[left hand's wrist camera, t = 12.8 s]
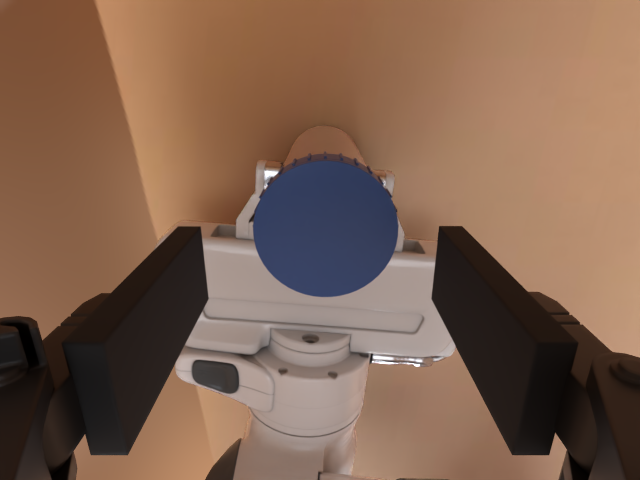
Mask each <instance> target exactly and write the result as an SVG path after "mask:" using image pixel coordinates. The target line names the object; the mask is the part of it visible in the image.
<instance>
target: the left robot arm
mask: <svg viewBox="0 0 640 480" xmlns="http://www.w3.org/2000/svg"><path fill="white" fill-rule="evenodd" d="M208 299H209V297H208V288H207V279H206V269H205V260H204V251H203V242H202V233H201V226H178V227H177V228H176V229H175V230H174V231H173V232H172V233H171V234H170V235H169V236H168V237H167V238H166V239H165V240H164V241H163V242H162V243H161V244H160V245H159V246H158V247H157V248H156V249H155V250H154V251H153V252H152V253H151V254H150V255H149V256H148V257H147V258H146V259H145V260H144V261H143V262H142V263H141V264H140V265H139V266H138V267H137V268H136V269H135V270H134V271H133V272H132V273H131V274H130V275H129V276H128V277H127V278H126V279H125V280H124V281H123V282H122V283H121V284H120V285H119V286H118V287H117V288H116V289H115V290H114V291H113V292H112V293H101V294H99V295H97V296H96V297H94V298H92V299H90V300H88V301H86V302H84V303H83V304H82V305H81V306H79V307H78V308H77V309H76V310H75V311H74V312H73V313H72V314H71V317H68V318H67V319H65V320H64V321H63V322H62V323H61V326H58V327H57V328H56V329H55V330H54V331H52V332H51V333H50V334H49V335H48V336H47V337H46V338H45V339H44V340H43V341H42V338H41V335H40V331H39V328H38V324H37V321H35V320H33V319H32V318H30V317H21V316H15V317H5V318H0V480H76V473H77V464H76V459H75V455H74V452H73V451H74V449H75V448H76V446H77V445H78V444H79V442H80V441H81V439H82V438H83V436H84V435H86V439H87V442H88V446H89V450H90V454H91V455H128V454H129V452H130V450H131V448H132V446H133V444H134V442H135V440H136V438H137V436H138V434H139V432H140V431H141V429H142V427H143V425H144V423H145V421H146V419H147V417H148V415H149V413H150V411H151V409H152V407H153V405H154V404H155V402H156V400H157V398H158V396H159V394H160V392H161V390H162V388H163V386H164V384H165V382H166V380H167V378H168V377H169V375H170V373H171V371H172V369H173V367H174V365H175V363H176V361H177V359H178V357H179V355H180V353H181V352H182V350H183V348H184V346H185V344H186V342H187V340H188V338H189V336H190V334H191V332H192V330H193V328H194V326H195V325H196V323H197V321H198V319H199V317H200V315H201V313H202V311H203V309H204V307H205V305H206V303H207V301H208ZM431 299H432V301H433V303H434V305H435V307H436V309H437V311H438V313H439V315H440V317H441V319H442V321H443V323H444V325H445V326H446V328H447V330H448V332H449V334H450V336H451V338H452V340H453V342H454V344H455V346H456V348H457V350H458V352H459V353H460V355H461V357H462V359H463V361H464V363H465V365H466V367H467V369H468V371H469V373H470V375H471V377H472V378H473V380H474V382H475V384H476V386H477V388H478V390H479V392H480V394H481V396H482V398H483V400H484V402H485V404H486V405H487V407H488V409H489V411H490V413H491V415H492V417H493V419H494V421H495V423H496V425H497V427H498V429H499V431H500V432H501V434H502V436H503V438H504V440H505V442H506V444H507V446H508V448H509V450H510V452H511V454H512V455H549V454H550V450H551V446H552V442H553V439H554V435H555V432H556V434H557V435H558V437H559V438H560V440H561V441H562V443H563V444H564V446H565V447H566V449H567V452H566V455H565V459H564V462H563V466H562V469H561V473H560V476H559V480H640V358H639V357H635V356H632V355H628V354H624V353H615V352H612V351H611V350H609V349H608V348H607V347H606V346H605V345H604V344H603V343H602V342H601V341H600V340H599V339H597V338H596V337H595V336H594V335H593V334H592V333H591V332H590V331H589V330H588V329H587V328H585V327H584V326H583V325H580V322H579V321H578V320H577V319H576V318H574V317H573V316H572V315H569V312H568V311H567V310H566V309H565V308H564V307H562V306H561V305H560V304H559V303H558V302H557V301H555V300H553V299H551V298H549V297H547V296H546V295H544V294H542V293H540V292H527V291H526V290H525V289H524V288H523V287H522V286H521V285H520V284H519V283H518V282H517V281H516V280H515V279H514V278H513V277H512V276H511V275H510V274H509V273H508V272H507V271H506V270H505V269H504V268H503V267H502V266H501V265H500V264H499V263H498V262H497V261H496V260H495V259H494V258H493V257H492V256H491V255H490V254H489V253H488V252H487V251H486V250H485V249H484V248H483V247H482V246H481V245H480V244H479V243H478V242H477V241H476V240H475V239H474V238H473V237H472V236H471V235H470V234H469V233H468V232H467V231H466V230H465V229H464V228H463V227H462V226H439V232H438V242H437V251H436V260H435V269H434V279H433V288H432V297H431Z"/></svg>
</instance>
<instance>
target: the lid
mask: <svg viewBox="0 0 640 480" xmlns="http://www.w3.org/2000/svg"><path fill="white" fill-rule="evenodd" d="M383 184H384V183H383V181H382V179H381V178H380V176H378V177H377V176H376V175H375V174H374V173H373V172H372V170H371V168H370V167H369V166H367V167H366V166H365V165H363V164H361V163H360V162H358V160H357V159H356V158H354V159H351V158H349V157H346V156H343V155H342V153H339V155H338V154H327V152H324V154H314V155H311V153H309V154H308V156H306V157H302V158H300V159H298V160H297V159H296V158H295V159H294V160H293V162H291V163H290V164H288V165H287V166H285V167H283V166H282V167H281V168H280V170H279V172H278V173H277V174H276V175H275V176H274V177H271V178H270V180H269V181H268V183H267V185H268V186H267V187H266V189H263V191H262V192H261V194H260V196H259V198H260V201H259V203H258V204H257V206H256V208H255V210H254V213H255V215H254V221H253V236H254V242H255V247H256V250H257V252H258V255H259V257H260V259H261V261H262V263H263V264H264V266H265V267H266V269H267V270H268V271H269V272H270V273H271V274H272V275H273V277H274V278H276V279H277V280H278V281H279V282H280V283H282V284H283V285H285V286H287V287H288V288H290V289H292V290H294V291H296V292H299V293H302V294H305V295H309V296H315V297H336V296H342V295H346V294H349V293H352V292H355V291H357V290H359V289H361V288H363V287H365V286H366V285H368V284H369V283H371V282H372V281H373V280H374V279H375V278H376V277H378V276H379V275H380V273H381V272H382V271H383V270H384V269H385V267H386V266H387V264H388V263H389V261H390V260H391V257H392V255H393V253H394V250H395V247H396V244H397V239H398V227H399V224H398V218H397V213H396V212H397V209H396V207H395V206H394V204H393V201H392V199H391V198H392V195H391V194H390V192H389V190H388V189H387V188H386V189H385V187H384V186H383Z"/></svg>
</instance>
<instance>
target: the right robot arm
mask: <svg viewBox="0 0 640 480" xmlns="http://www.w3.org/2000/svg"><path fill="white" fill-rule="evenodd" d="M282 166H283V162H278V161H267V160H259V161H258V162H257V166H256V180H255V191H254V193H253V194H252V196H251V197H250V199H249V200H248V202H247V204H246V205H245V207H244V208H243V210H242V211H241V213H240V214H239V216H238V218H237V219H236V224H223V223H211V222H199V221H188V220H183V221H179V222H177V223H176V224H175V225H174V226H172V227H171V228H170V229H169V230H168V231H167V232H166V233H165V234H164V235H163V236H162V237H161V238H160V239H159V241H158V242H157V244H156V246H155V249H156V248H157V247H158V246H159V245H160V244H161V243H162V242H163V241H164V240H165V239H166V238H167V237H168V236H169V235H170V234H171V233H172V232H173V231H174V230H175V229H176V228H177V227H178V226H201V233H202V242H203V251H204V260H205V269H206V279H207V288H208V297H209V299H208V301H207V303H206V305H205V307H204V309H203V311H202V313H201V315H200V317H199V319H198V321H197V323H196V325H195V326H194V328H193V330H192V332H191V334H190V336H189V338H188V340H187V342H186V344H185V346H184V348H183V350H182V352H181V353H180V355H179V357H178V359H177V361H176V363H175V370H176V374H177V376H178V377H179V378H180V379H181V380H183V381H185V382H188V383H190V384H193V385H196V386H199V387H202V388H205V389H208V390H211V391H214V392H217V393H219V394H222V395H225V396H227V397H230V398H232V399H234V400H236V401H239V402H241V403H243V404H245V405H247V406H248V409H249V413H250V417H249V419H248V422H247V425H246V429H245V435H244V439H241V438H240V439H239V440H237V441H236V442H235V443H234V444H233V445H232V446H231V447H230V448H229V449H228V450H227V451H226V452H225V453H224V454H223V455H222V457H221V458H220V459H219V460H218V461H217V462H216V464H215V465H214V466H213V467H212V469H211V470H210V472H209V474H208V475H207V477H206V479H205V480H388V479H379V478H371V477H363V476H354V475H351V473H352V468H353V463H354V458H355V453H356V444H357V437H356V430H355V423H356V422H357V420H358V418H359V416H360V413H361V410H362V406H363V401H364V395H365V388H366V382H367V376H368V368H369V364H370V363H374V364H388V365H395V364H396V365H397V364H407V365H413V366H416V367H428V366H431V365H432V362H437V361H440V360H443V359H445V358H446V357H449V356H451V355H452V354H453V352H454V350H455V348H456V346H455V344H454V342H453V340H452V338H451V336H450V334H449V332H448V330H447V328H446V326H445V325H444V323H443V321H442V319H441V317H440V315H439V313H438V311H437V309H436V307H435V305H434V303H433V301H432V299H431V297H432V288H433V279H434V269H435V260H436V251H437V242H438V241H430V240H418V239H406V238H404V236H405V233H404V231H403V229H402V226H401V224H400V221H399V219H398V224H399V227H398V239H397V244H396V247H395V250H394V253H393V255H392V257H391V260H390V261H389V263H388V264H387V266H386V267H385V269H384V270H383V271H382V272H381V273H380V275H379V276H378V277H376V278H375V279H374V280H373V281H372V282H371V283H369V284H368V285H366V286H365V287H363V288H361V289H359V290H357V291H355V292H352V293H349V294H346V295H342V296H336V297H315V296H309V295H305V294H302V293H299V292H296V291H294V290H292V289H290V288H288V287H287V286H285V285H283V284H282V283H280V282H279V281H278V280H277V279H276V278H274V277H273V275H272V274H271V273H270V272H269V271H268V270H267V269H266V267H265V266H264V264H263V263H262V261H261V259H260V257H259V255H258V252H257V250H256V247H255V242H254V236H253V221H254V215H255V213H254V210H255V208H256V206H257V204H258V203H259V201H260V198H259V196H260V194H261V192H262V191H263V189H266V187H267V186H268V185H267V183H268V181H269V180H270V178H271V177H274V176H275V175H276V174H277V173H278V172H279V170H280V168H281V167H282ZM372 172H373V173H374V174H375V175H376V176H377V177H378V176H380V178H381V179H382V181H383V183H384V184H383V186H384V187H385V189H386V188H387V189H388V190H389V192H390V194H391V195H392V194H393V188H394V174H393V172H392V171H384V170H372ZM391 199H392V198H391ZM397 218H398V217H397ZM155 249H154V250H155ZM396 480H448V479H406V478H400V479H396Z"/></svg>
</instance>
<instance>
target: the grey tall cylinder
mask: <svg viewBox="0 0 640 480" xmlns="http://www.w3.org/2000/svg"><path fill="white" fill-rule="evenodd" d="M324 152H327V154H338V155H339V153H342V155H343V156H346V157H349V158H351V159H354V158H356V159H357V160H358V162H360V163H361V164H363V165H365V166H366V167H367V165H366V164H365V162H364V160H363V158H362V156H361V154H360V152H359V150H358V148H357V147H356V145H355V143H354V141H353V140H352V139H351V137H350V136H349V135H348V134H346V133H345V132H344V131H342V130H340V129H338V128H336V127H332V126H316V127H313V128H310V129H308V130H306V131H305V132H303V133H302V134H301V135H300V136H299V137H298V138H297V139H296V140H295V142H294V144H293V146H292V148H291V150H290V152H289V154H288V156H287V158H286V160H285V162H284V164H283V167H285V166H287V165H288V164H290V163H291V162H293V160H294V159H295V158H296V159H297V160H298V159H300V158H302V157H306V156H308V154H309V153H311V155H314V154H324Z"/></svg>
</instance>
